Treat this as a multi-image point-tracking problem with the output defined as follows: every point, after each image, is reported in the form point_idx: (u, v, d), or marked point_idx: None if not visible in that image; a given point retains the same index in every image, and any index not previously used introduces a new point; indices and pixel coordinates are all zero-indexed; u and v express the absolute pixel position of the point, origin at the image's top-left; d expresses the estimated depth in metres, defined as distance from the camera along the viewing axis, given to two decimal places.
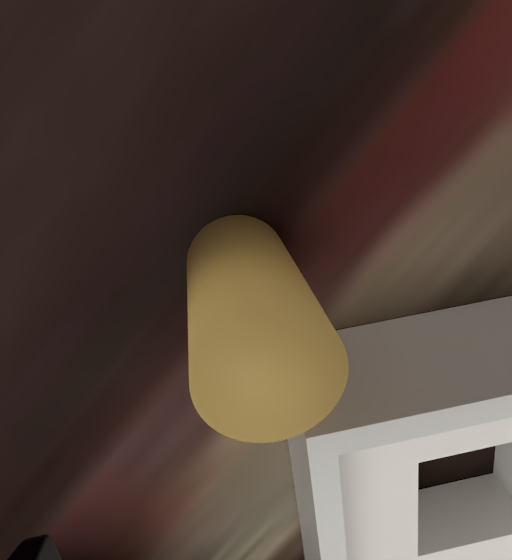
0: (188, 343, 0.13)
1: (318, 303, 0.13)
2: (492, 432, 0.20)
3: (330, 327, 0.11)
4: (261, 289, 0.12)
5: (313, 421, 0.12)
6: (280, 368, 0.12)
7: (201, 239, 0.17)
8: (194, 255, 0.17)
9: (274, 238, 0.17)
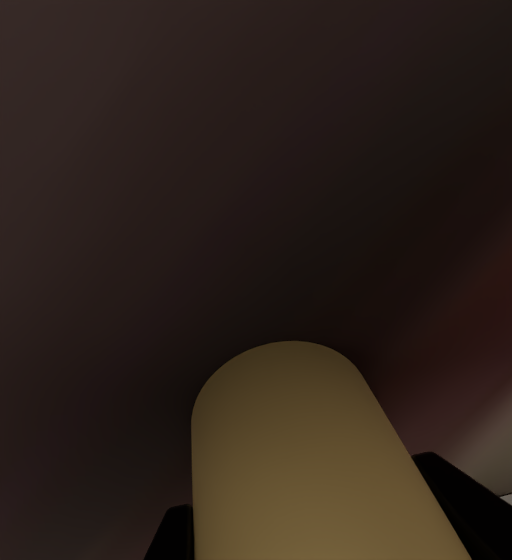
0: None
1: None
2: None
3: None
4: None
5: None
6: None
7: (221, 404, 0.09)
8: (208, 448, 0.08)
9: (372, 411, 0.08)
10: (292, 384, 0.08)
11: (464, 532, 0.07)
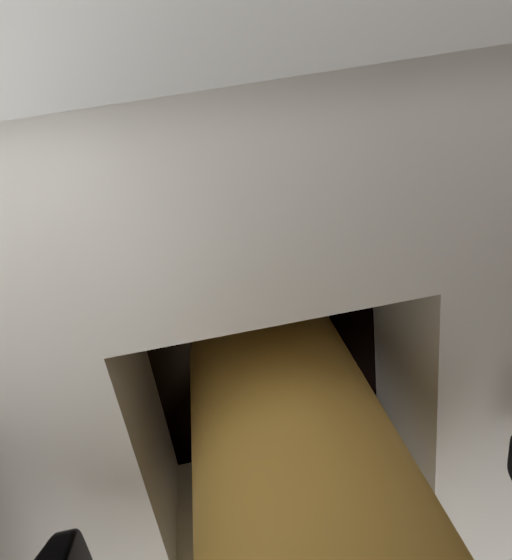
0: None
1: (453, 528, 0.06)
2: (285, 282, 0.08)
3: None
4: (352, 536, 0.05)
5: None
6: None
7: None
8: (203, 364, 0.10)
9: (331, 336, 0.10)
10: None
11: None
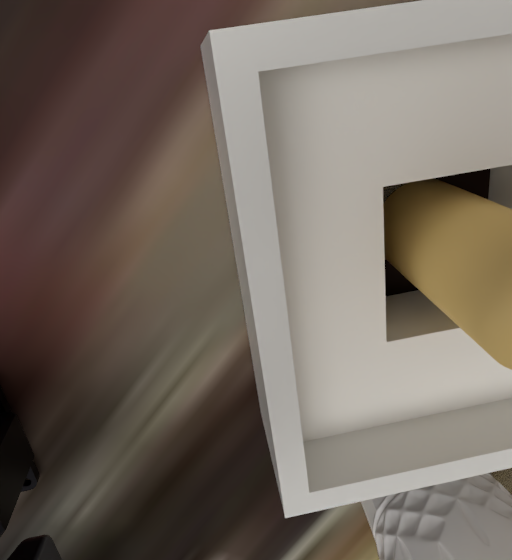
0: (455, 281, 0.14)
1: None
2: (478, 146, 0.15)
3: None
4: None
5: None
6: None
7: (404, 198, 0.18)
8: (403, 212, 0.18)
9: None
10: (440, 186, 0.18)
11: None
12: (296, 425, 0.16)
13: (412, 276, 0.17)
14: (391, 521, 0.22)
